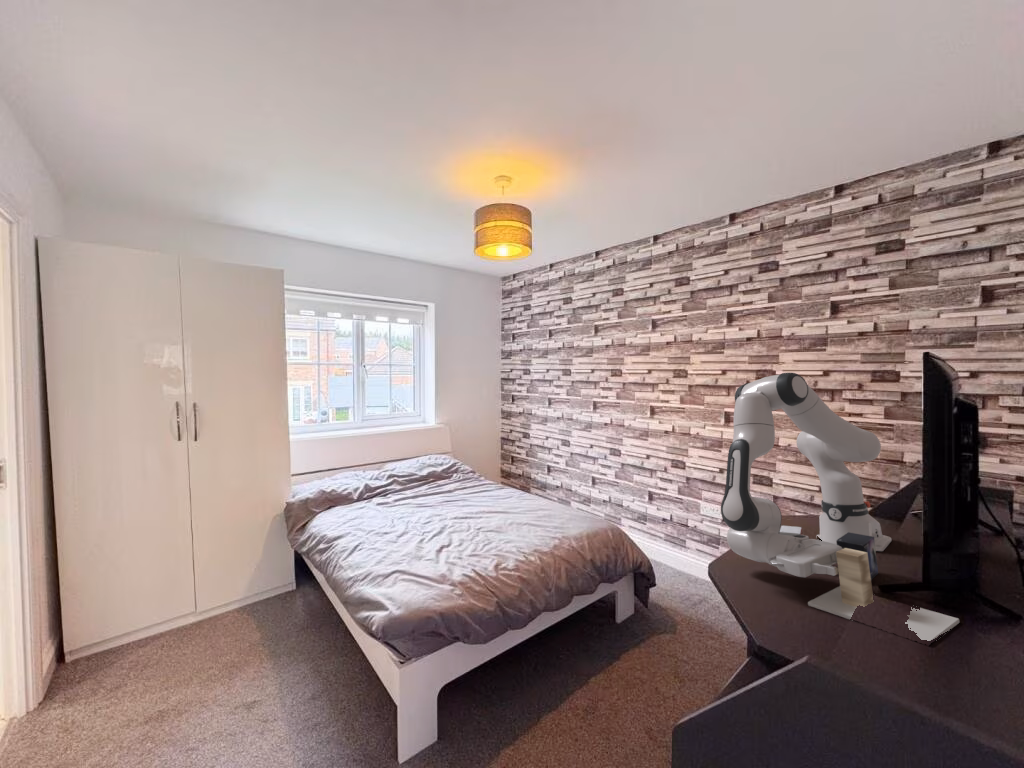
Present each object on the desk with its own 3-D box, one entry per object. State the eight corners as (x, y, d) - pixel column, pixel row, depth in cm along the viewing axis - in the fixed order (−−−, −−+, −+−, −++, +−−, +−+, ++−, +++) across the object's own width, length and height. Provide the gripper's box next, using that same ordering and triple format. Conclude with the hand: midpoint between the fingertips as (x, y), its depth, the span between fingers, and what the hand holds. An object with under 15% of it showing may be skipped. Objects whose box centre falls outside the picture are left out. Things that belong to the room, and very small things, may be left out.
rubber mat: (841, 588, 110) (841, 585, 110) (959, 622, 91) (958, 618, 91) (808, 605, 102) (807, 602, 103) (928, 646, 83) (928, 642, 83)
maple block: (851, 597, 103) (845, 547, 104) (874, 604, 99) (867, 552, 100) (842, 602, 101) (836, 551, 102) (864, 609, 97) (858, 556, 98)
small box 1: (805, 570, 123) (800, 533, 124) (782, 567, 126) (778, 531, 127) (806, 561, 129) (802, 526, 130) (784, 558, 133) (781, 524, 133)
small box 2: (869, 585, 111) (864, 545, 111) (839, 578, 116) (834, 540, 117) (880, 574, 117) (875, 535, 118) (851, 568, 122) (846, 531, 123)
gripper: (763, 549, 110) (822, 563, 97) (805, 533, 119) (864, 545, 107) (766, 573, 109) (825, 591, 97) (808, 556, 119) (867, 570, 107)
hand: (846, 567), depth 102 cm, fingers open, 8 cm apart
